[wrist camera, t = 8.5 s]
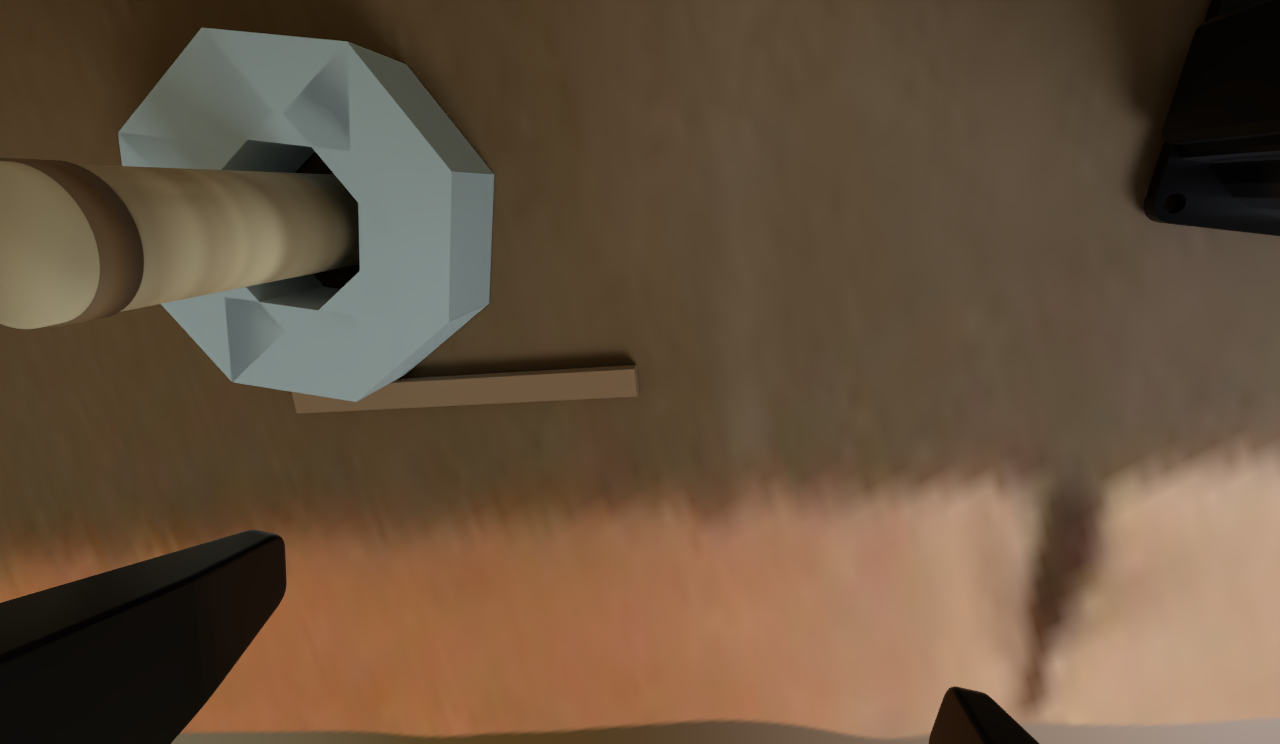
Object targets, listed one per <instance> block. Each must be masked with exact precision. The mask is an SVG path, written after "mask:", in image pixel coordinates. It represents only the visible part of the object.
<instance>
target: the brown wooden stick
mask: <svg viewBox="0 0 1280 744" xmlns="http://www.w3.org/2000/svg"><path fill="white" fill-rule="evenodd" d="M638 393H639V384H638V374H637V365H626V366H609V367H592V368H574V369H557V370H540V371H523V372H506V373H489V374H472V375H455V376H438V377H420V378H403V379H396V380H395V381H393V382H391V383H389V384H388V385H386V386H384V387H382V388H380V389H379V390H377V391H375V392H373V393H371V394H370V395H368V396H366V397H364V398H363V399H361V400H359V401H357V402H353V401H347V400H341V399H334V398H328V397H322V396H316V395H309V394H303V393H297V392H292V396H293V400H294V404H295V408H296V411H297V413H317V412H337V411H357V410H377V409H397V408H417V407H437V406H457V405H477V404H497V403H517V402H537V401H557V400H577V399H596V398H616V397H636V396H637V395H638Z"/></svg>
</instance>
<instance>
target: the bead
mask: <svg viewBox="0 0 1280 744" xmlns="http://www.w3.org/2000/svg"><path fill="white" fill-rule="evenodd" d="M118 136H119V144H120V152H121V160H122V166H135V167H160V168H184V169H209V170H234V171H259V172H283V173H295V172H296V171H297V170H298V169H299V168H300V167H301V166H302V165H303V163H304V162H305V161H306V160H307V159H308V158H309V157H310V156H311V155H312V154H313V153H314V152H316V153H317V154H318V155H319V157H320V158H321V159H322V160H323V161H324V163H325V164H326V165H327V166H328V167H329V169H330V170H331V171H332V172H333V173H334V175H335V176H336V177H337V178H338V179H339V181H340V182H341V183H342V184H343V185H344V186H345V188H346V189H347V190H348V191H349V192H350V194H351V195H352V196H353V197H354V198H355V200H356V201H357V202H358V213H359V259H360V271H359V272H358V273H357V274H356V275H355V276H354V277H353V278H352V279H351V280H350V281H349V282H348V283H347V284H346V285H345V286H343V287H342V288H341V289H337V288H330V287H324V286H323V285H322V284H321V282H320V281H319V280H318V279H317V278H316V277H315V275H314V274H309V275H304V276H299V277H294V278H288V279H283V280H278V281H273V282H268V283H263V284H258V285H253V286H248V287H243V288H238V289H233V290H228V291H223V292H218V293H213V294H207V295H202V296H197V297H192V298H187V299H182V300H177V301H172V302H167V303H162V304H161V305H162V306H163V307H164V308H165V309H166V310H167V311H168V312H169V313H170V315H171V316H172V317H173V318H174V319H175V320H176V321H177V322H178V323H179V324H180V326H181V327H182V328H183V329H184V330H185V331H186V332H187V333H188V334H189V335H190V336H191V338H192V339H193V340H194V341H195V342H196V343H197V344H198V345H199V346H200V347H201V349H202V350H203V351H204V352H205V353H206V354H207V355H208V356H209V357H210V358H211V359H212V361H213V362H214V363H215V364H216V365H217V366H218V367H219V368H220V369H221V370H222V372H223V373H224V374H225V375H226V376H227V377H228V378H229V379H230V380H231V381H232V382H235V383H241V384H247V385H253V386H260V387H266V388H272V389H278V390H285V391H291V392H297V393H303V394H309V395H316V396H322V397H328V398H334V399H341V400H347V401H353V402H357V401H359V400H361V399H363V398H364V397H366V396H368V395H370V394H371V393H373V392H375V391H377V390H379V389H380V388H382V387H384V386H386V385H388V384H389V383H391V382H393V381H395V380H396V379H398V378H400V377H402V376H404V375H405V374H407V373H408V372H409V371H410V370H411V369H413V368H414V367H415V366H416V365H417V364H418V363H420V362H421V361H422V360H423V359H424V358H426V357H427V356H428V355H429V354H430V353H431V352H433V351H434V350H435V349H436V348H437V347H438V346H440V345H441V344H442V343H443V342H444V341H445V340H447V339H448V338H449V337H450V336H451V335H453V334H454V333H455V332H456V331H457V330H458V329H460V328H461V327H462V326H463V325H464V324H465V323H467V322H468V321H469V320H470V319H471V318H473V317H474V316H475V315H476V314H477V313H478V312H480V311H481V310H482V309H483V308H484V307H485V306H487V305H488V304H489V293H490V267H491V242H492V217H493V191H494V174H493V173H492V171H491V170H490V169H489V168H488V166H487V165H486V164H485V163H484V161H483V160H482V159H481V158H480V156H479V155H478V154H477V153H476V151H475V150H474V149H473V147H472V146H471V145H470V144H469V142H468V141H467V140H466V139H465V137H464V136H463V135H462V134H461V132H460V131H459V130H458V129H457V127H456V126H455V125H454V124H453V122H452V121H451V120H450V119H449V117H448V116H447V115H446V114H445V112H444V111H443V110H442V109H441V107H440V106H439V105H438V103H437V102H436V101H435V100H434V98H433V97H432V96H431V95H430V93H429V92H428V91H427V90H426V88H425V87H424V86H423V85H422V83H421V82H420V81H419V80H418V78H417V77H416V76H415V75H414V73H413V72H412V71H411V70H410V68H409V67H408V66H407V64H404V63H402V62H399V61H396V60H394V59H391V58H389V57H386V56H384V55H381V54H378V53H376V52H373V51H371V50H368V49H366V48H363V47H360V46H358V45H355V44H353V43H350V42H348V41H336V40H326V39H315V38H305V37H295V36H284V35H274V34H263V33H253V32H243V31H232V30H222V29H211V28H203V27H202V28H201V29H200V30H199V32H198V33H197V34H196V35H195V37H194V38H193V39H192V40H191V42H190V43H189V44H188V45H187V47H186V48H185V49H184V50H183V52H182V53H181V54H180V55H179V57H178V58H177V59H176V60H175V62H174V63H173V64H172V66H171V67H170V68H169V69H168V71H167V72H166V73H165V74H164V76H163V77H162V78H161V79H160V81H159V82H158V83H157V84H156V86H155V87H154V88H153V89H152V91H151V92H150V93H149V94H148V96H147V97H146V98H145V99H144V101H143V102H142V103H141V104H140V106H139V107H138V108H137V109H136V111H135V112H134V113H133V114H132V116H131V117H130V118H129V120H128V121H127V122H126V123H125V125H124V126H123V127H122V128H121V130H120V131H119V132H118Z"/></svg>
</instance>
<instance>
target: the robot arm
mask: <svg viewBox="0 0 1280 744" xmlns="http://www.w3.org/2000/svg"><path fill="white" fill-rule="evenodd" d="M1162 134H1163V137H1164V139H1165V141H1164V144H1163V147H1162V150H1161V153H1160V156H1159V159H1158V162H1157V165H1156V168H1155V171H1154V174H1153V177H1152V180H1151V183H1150V186H1149V189H1148V192H1147V195H1146V198H1145V201H1144V211H1145V214H1146V216H1147V217H1148V218H1149V219H1150V220H1152V221H1155V222H1159V223H1168V224H1177V225H1186V226H1195V227H1204V228H1213V229H1222V230H1230V231H1239V232H1248V233H1257V234H1266V235H1275V236H1280V0H1212V1H1211V4H1210V7H1209V10H1208V13H1207V16H1206V19H1205V22H1204V24H1202V25H1201V26H1199V27H1198V28H1197V29H1196V31H1195V33H1194V36H1193V39H1192V42H1191V46H1190V49H1189V52H1188V55H1187V58H1186V61H1185V64H1184V67H1183V70H1182V73H1181V76H1180V79H1179V82H1178V85H1177V88H1176V91H1175V94H1174V97H1173V100H1172V103H1171V106H1170V109H1169V112H1168V115H1167V118H1166V121H1165V124H1164V127H1163V130H1162ZM1171 194H1172V195H1174V197H1175V199H1176V202H1175V206H1174V207H1173V209H1172V210H1170V211H1168V212H1166V210H1165V209H1164V202H1165V200H1166V199H1167V197H1168V196H1170V195H1171ZM285 590H286V561H285V544H284V541H283V539H282V538H281V537H280V536H279V535H277V534H272V533H268V532H263V531H259V530H249V531H245V532H242V533H238V534H235V535H231V536H228V537H225V538H221V539H218V540H214V541H211V542H207V543H204V544H201V545H197V546H194V547H190V548H187V549H183V550H180V551H177V552H173V553H170V554H166V555H163V556H159V557H156V558H153V559H149V560H146V561H142V562H139V563H136V564H132V565H129V566H125V567H122V568H118V569H115V570H112V571H108V572H105V573H101V574H98V575H94V576H91V577H88V578H84V579H81V580H77V581H74V582H71V583H67V584H64V585H60V586H57V587H53V588H50V589H47V590H43V591H40V592H36V593H33V594H29V595H26V596H23V597H19V598H16V599H12V600H9V601H6V602H2V603H0V744H171V743H172V741H173V740H174V739H175V738H176V737H177V736H178V735H179V734H180V732H181V731H182V730H183V729H184V728H185V727H186V726H187V724H188V723H189V722H190V721H191V720H192V719H193V717H194V716H195V715H196V714H197V713H198V712H199V710H200V709H201V708H202V707H203V706H204V704H205V703H206V702H207V701H208V699H209V698H210V697H211V696H212V694H213V693H214V692H215V690H216V689H217V688H218V687H219V685H220V684H221V683H222V681H223V680H224V679H225V677H226V676H227V674H228V673H229V672H230V670H231V669H232V668H233V666H234V665H235V664H236V662H237V661H238V660H239V658H240V657H241V656H242V654H243V653H244V651H245V650H246V649H247V647H248V646H249V645H250V643H251V642H252V641H253V639H254V638H255V637H256V635H257V634H258V632H259V631H260V630H261V628H262V627H263V626H264V624H265V623H266V622H267V620H268V619H269V618H270V616H271V615H272V613H273V612H274V611H275V609H276V608H277V607H278V605H279V604H280V602H281V600H282V598H283V596H284V593H285ZM929 744H1039V743H1038V742H1037V741H1036V740H1035V739H1034V738H1033V737H1032V736H1031V735H1030V734H1029V733H1028V732H1026V730H1024V729H1023V728H1022V727H1021V726H1020V725H1019V724H1018V723H1017V722H1016V721H1015V720H1014V719H1013V718H1012V717H1011V716H1010V715H1009V714H1008V713H1006V712H1005V711H1004V710H1003V709H1002V708H1001V707H1000V706H999V705H998V704H997V703H996V702H995V701H994V700H993V699H992V698H990V697H989V696H988V695H986V694H985V693H982V692H978V691H974V690H969V689H965V688H960V687H951V688H949V689H948V690H947V692H946V693H945V695H944V698H943V701H942V704H941V706H940V709H939V712H938V715H937V717H936V720H935V723H934V726H933V728H932V731H931V734H930V738H929Z"/></svg>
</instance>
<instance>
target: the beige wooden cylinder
mask: <svg viewBox="0 0 1280 744" xmlns="http://www.w3.org/2000/svg"><path fill="white" fill-rule="evenodd" d="M359 264H360V259H359V213H358V202H357V201H356V200H355V198H354V197H353V196H352V195H351V194H350V192H349V191H348V190H347V189H346V188H345V186H344V185H343V184H342V183H341V182H340V181H339V179H338V178H337V177H336V176H335V175H333V174H308V173H283V172H259V171H234V170H209V169H184V168H160V167H135V166H110V165H85V164H73V163H70V162H65V161H57V160H35V159H13V158H0V324H3V325H5V326H9V327H13V328H18V329H35V328H40V327H60V326H65V325H70V324H75V323H80V322H85V321H90V320H95V319H100V318H104V317H109V316H112V315H114V314H116V313H118V312H121V311H126V310H132V309H137V308H142V307H147V306H152V305H157V304H162V303H167V302H172V301H177V300H182V299H187V298H192V297H197V296H202V295H207V294H213V293H218V292H223V291H228V290H233V289H238V288H243V287H248V286H253V285H258V284H263V283H268V282H273V281H278V280H283V279H288V278H294V277H299V276H304V275H309V274H314V273H319V272H324V271H329V270H334V269H339V268H344V267H349V266H354V265H359Z"/></svg>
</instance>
